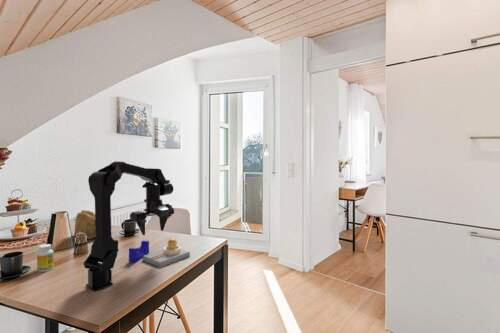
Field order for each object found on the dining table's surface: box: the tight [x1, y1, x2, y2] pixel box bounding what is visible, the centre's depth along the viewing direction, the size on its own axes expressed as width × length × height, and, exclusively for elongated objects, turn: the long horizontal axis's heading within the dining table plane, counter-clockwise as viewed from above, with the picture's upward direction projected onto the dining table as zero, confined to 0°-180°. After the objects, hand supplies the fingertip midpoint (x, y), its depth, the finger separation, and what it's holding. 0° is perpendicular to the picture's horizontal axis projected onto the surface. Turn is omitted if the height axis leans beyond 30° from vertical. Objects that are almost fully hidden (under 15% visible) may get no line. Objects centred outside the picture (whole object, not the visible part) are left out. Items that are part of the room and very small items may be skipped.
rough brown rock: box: [73, 209, 96, 240], centre depth 156 cm, size 23×17×15 cm
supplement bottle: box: [36, 243, 55, 273], centre depth 112 cm, size 5×5×10 cm
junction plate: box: [142, 244, 191, 268], centre depth 126 cm, size 16×12×4 cm
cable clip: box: [128, 240, 150, 263], centre depth 127 cm, size 12×4×6 cm, turn 173°
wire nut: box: [167, 238, 178, 250], centre depth 128 cm, size 4×4×6 cm
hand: (153, 232), depth 123 cm, fingers open, 9 cm apart
